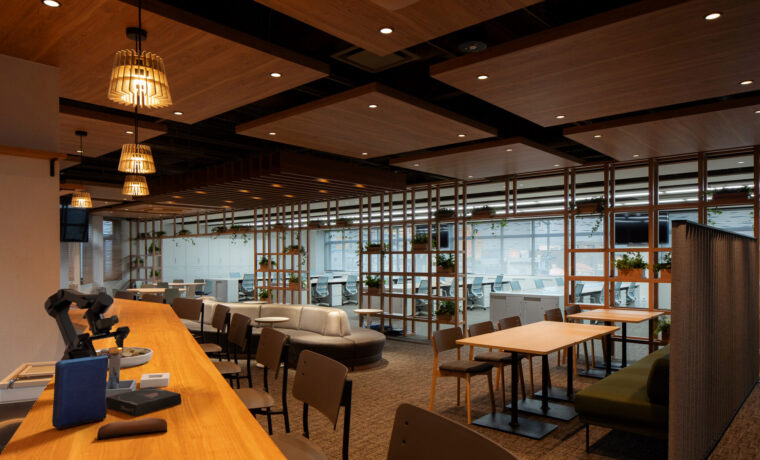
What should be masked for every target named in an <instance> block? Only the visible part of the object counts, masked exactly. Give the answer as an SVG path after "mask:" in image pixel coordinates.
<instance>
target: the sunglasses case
mask: <svg viewBox="0 0 760 460" xmlns="http://www.w3.org/2000/svg"><path fill="white" fill-rule="evenodd" d="M154 432H166V433H167V432H168V422H167V420H166V419H164V418H160V417H145V418H141V419H133V420H119V421H113V422H109V423H106V424H104V425H101V426H100V427H99V428H98V430H97V435H96V441H98V440H103V439H108V438H114V437H119V436H124V435H134V434H144V433H145V434H146V433H154Z"/></svg>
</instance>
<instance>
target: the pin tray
mask: <svg viewBox="0 0 760 460" xmlns="http://www.w3.org/2000/svg"><path fill="white" fill-rule="evenodd" d="M134 390H137V379H125V380H124V379H123V380H122V379H121V380H120V379H119V389H108V380H107V385H106V397H109V396H113V395H117V394H121V393H126V392H130V391H134ZM106 397H105V400H106Z"/></svg>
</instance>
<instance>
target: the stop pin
mask: <svg viewBox="0 0 760 460" xmlns="http://www.w3.org/2000/svg"><path fill="white" fill-rule="evenodd" d="M108 348H109V354H110V360H109V369H108V375H107V378H108V379H107V381H108V389H119V381H120V377H121V376H120V374H121V368H120V362H121V353H122V349H123V348H122V347H117V346H115V347H113V346H112V347H108Z"/></svg>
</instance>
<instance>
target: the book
mask: <svg viewBox="0 0 760 460" xmlns="http://www.w3.org/2000/svg"><path fill="white" fill-rule="evenodd" d="M107 368H108V356H106V355H104V354H102V355H98V356H94V357H86V358H79V359H72V360H62V361H60V360H57V361H56V363H55V365H54V382H53V383H54V386H53V402H52V415H51V422H52V427H54V428H55V429H58V430H59V429H66V428H70V427H75V426H80V425H85V424H88V423H93V422H97V421H101V420H105V419H106V418H107V414H108V408H107V403H106V400H105V397H106V385H107V381H108V379H107V378H108V369H107Z"/></svg>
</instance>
